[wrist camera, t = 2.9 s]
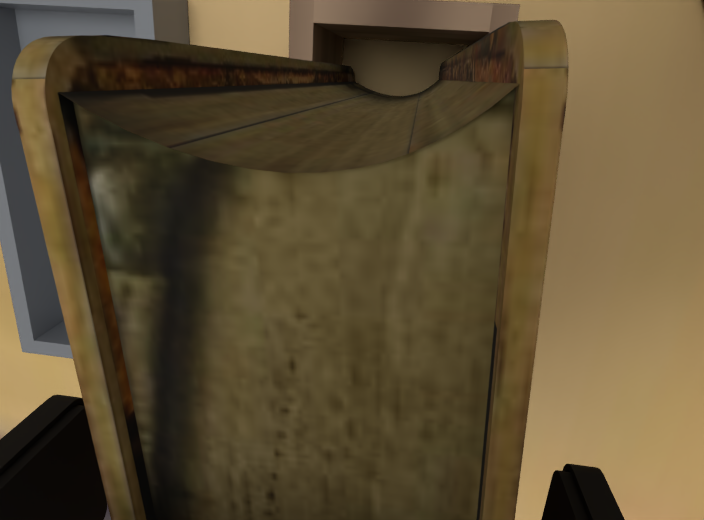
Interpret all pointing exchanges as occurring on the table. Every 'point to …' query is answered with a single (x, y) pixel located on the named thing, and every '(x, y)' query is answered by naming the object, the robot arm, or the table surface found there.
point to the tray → (9, 159)
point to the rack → (388, 23)
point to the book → (298, 271)
